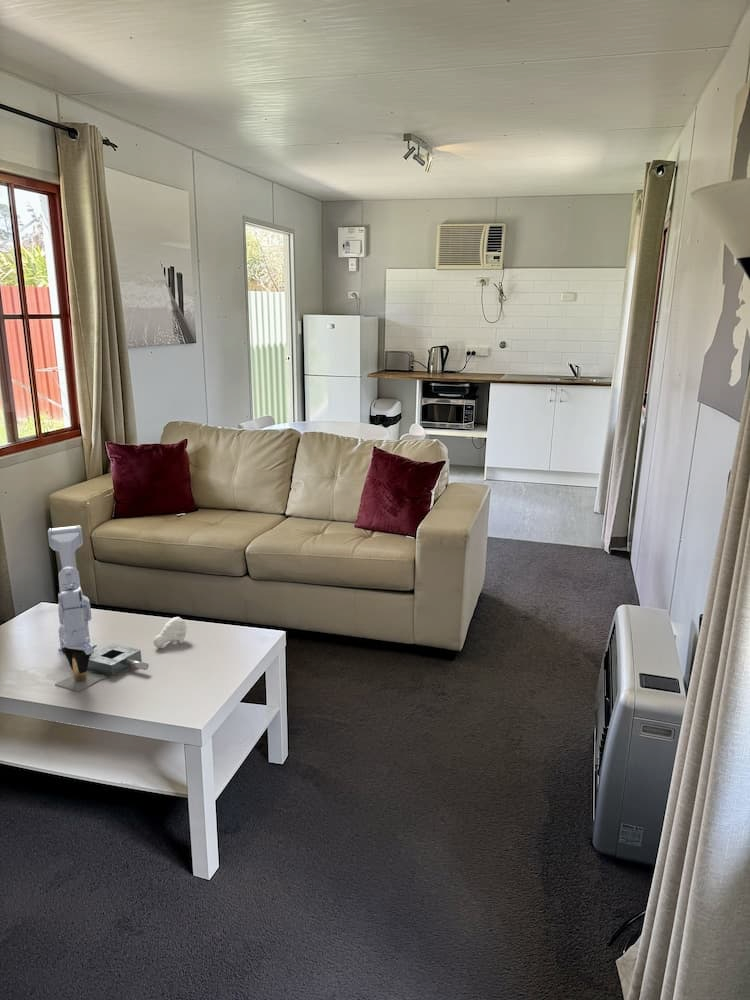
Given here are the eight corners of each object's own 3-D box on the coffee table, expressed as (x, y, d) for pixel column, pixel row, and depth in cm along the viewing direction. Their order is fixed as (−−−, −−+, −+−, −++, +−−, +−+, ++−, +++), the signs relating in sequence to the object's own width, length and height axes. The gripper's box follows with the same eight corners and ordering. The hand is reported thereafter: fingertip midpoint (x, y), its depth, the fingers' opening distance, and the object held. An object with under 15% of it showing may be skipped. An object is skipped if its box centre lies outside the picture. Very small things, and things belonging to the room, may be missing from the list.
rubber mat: (55, 685, 209) (55, 684, 208) (82, 671, 217) (82, 670, 217) (79, 692, 204) (79, 690, 204) (105, 677, 213) (105, 676, 213)
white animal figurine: (187, 617, 237) (157, 631, 228) (190, 639, 239) (161, 654, 230) (175, 613, 240) (145, 627, 232) (179, 635, 243) (150, 650, 234)
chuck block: (84, 670, 218) (83, 658, 217) (114, 654, 229) (113, 643, 228) (132, 682, 210) (131, 670, 209) (160, 666, 220) (159, 654, 219)
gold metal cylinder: (78, 681, 208) (77, 659, 207) (71, 678, 210) (69, 657, 209) (89, 677, 211) (87, 655, 210) (81, 674, 213) (79, 652, 212)
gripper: (100, 629, 206) (105, 671, 209) (73, 618, 214) (78, 659, 217) (78, 637, 200) (83, 680, 203) (51, 626, 209) (56, 667, 212)
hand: (79, 670), depth 210 cm, fingers closed on gold metal cylinder, 4 cm apart
